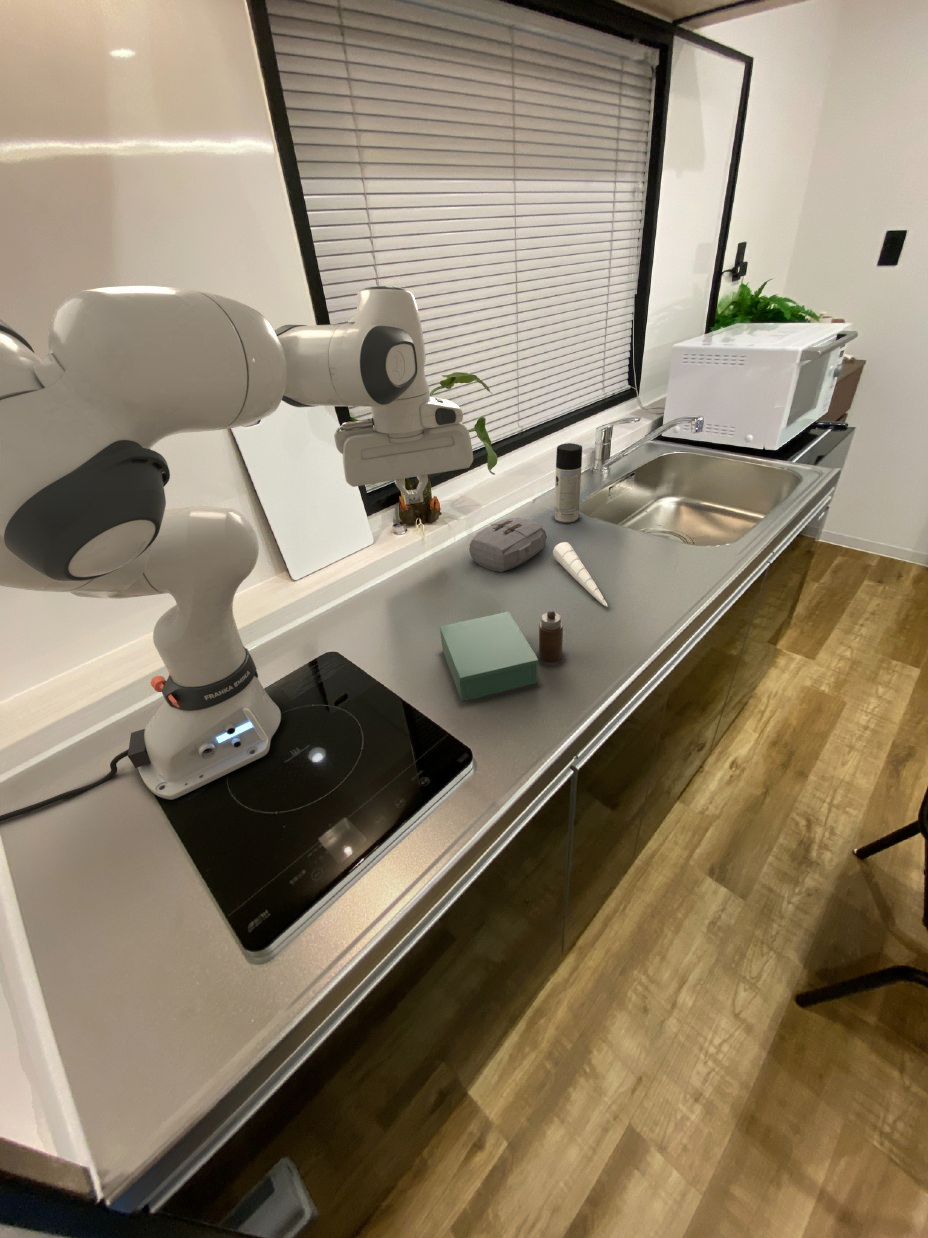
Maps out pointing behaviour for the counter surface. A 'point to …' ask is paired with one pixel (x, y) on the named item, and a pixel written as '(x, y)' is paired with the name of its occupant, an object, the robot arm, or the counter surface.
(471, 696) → the chest
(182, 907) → the counter surface
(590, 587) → the unicorn horn
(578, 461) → the spray can
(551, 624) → the pepper mill
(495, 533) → the grey rounded bag
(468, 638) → the lid
